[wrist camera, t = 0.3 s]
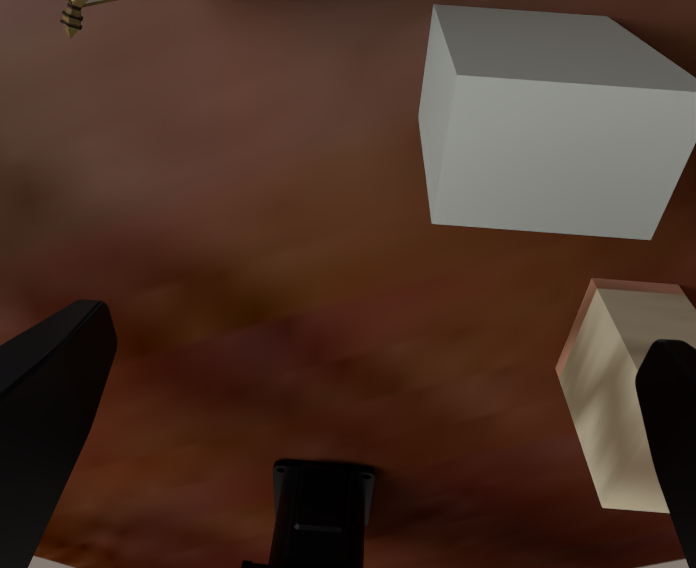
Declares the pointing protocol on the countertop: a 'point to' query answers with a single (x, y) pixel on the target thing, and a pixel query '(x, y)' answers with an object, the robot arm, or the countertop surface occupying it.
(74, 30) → the grey knobbly lump
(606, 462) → the birch block
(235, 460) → the countertop surface
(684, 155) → the grey block
